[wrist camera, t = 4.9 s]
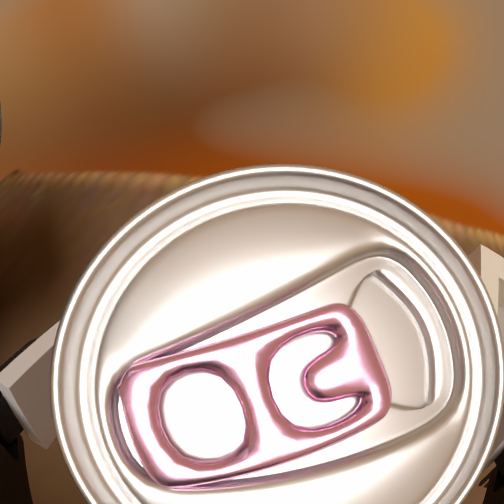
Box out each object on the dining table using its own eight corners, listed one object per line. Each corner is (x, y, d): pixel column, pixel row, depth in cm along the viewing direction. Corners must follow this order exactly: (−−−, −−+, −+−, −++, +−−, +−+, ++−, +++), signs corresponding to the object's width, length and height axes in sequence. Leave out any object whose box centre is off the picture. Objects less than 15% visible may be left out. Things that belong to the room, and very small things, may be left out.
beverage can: (201, 362, 16) (33, 224, 3) (292, 333, 17) (389, 129, 4) (231, 450, 14) (139, 617, 1) (326, 418, 15) (541, 445, 1)
